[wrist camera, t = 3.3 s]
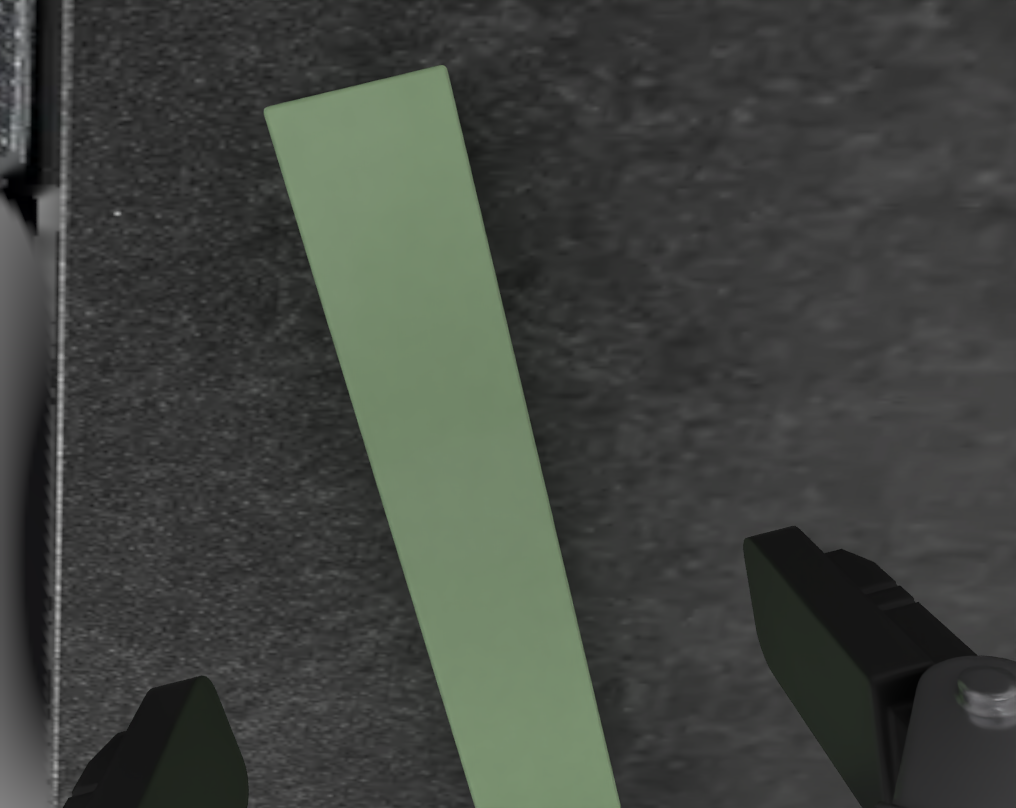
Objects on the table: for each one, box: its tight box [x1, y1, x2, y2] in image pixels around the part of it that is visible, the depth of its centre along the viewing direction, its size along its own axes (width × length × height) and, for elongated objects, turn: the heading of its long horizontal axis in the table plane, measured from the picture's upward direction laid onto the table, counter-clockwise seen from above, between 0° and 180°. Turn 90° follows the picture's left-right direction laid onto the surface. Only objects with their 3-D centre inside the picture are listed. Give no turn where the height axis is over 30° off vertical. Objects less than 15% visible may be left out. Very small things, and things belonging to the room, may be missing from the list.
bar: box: [264, 65, 621, 808], centre depth 17 cm, size 16×3×3 cm, turn 13°
